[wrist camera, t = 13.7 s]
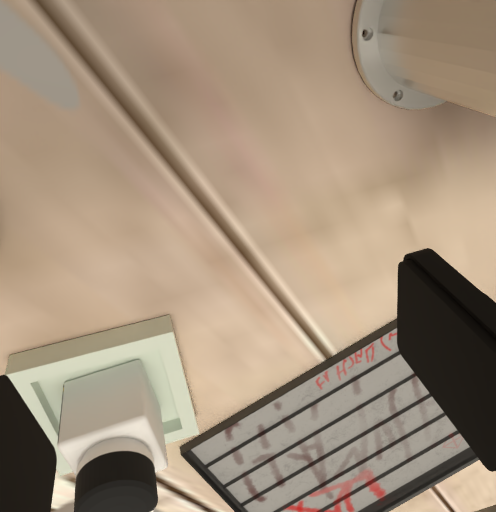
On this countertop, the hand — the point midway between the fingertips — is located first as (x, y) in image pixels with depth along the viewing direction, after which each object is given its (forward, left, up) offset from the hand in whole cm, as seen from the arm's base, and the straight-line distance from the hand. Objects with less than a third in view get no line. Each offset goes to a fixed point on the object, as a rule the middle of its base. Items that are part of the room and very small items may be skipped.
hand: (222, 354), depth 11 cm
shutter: (-16, +46, -27) cm, 55 cm away
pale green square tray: (+9, +25, -26) cm, 37 cm away
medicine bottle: (+9, +25, -25) cm, 37 cm away
